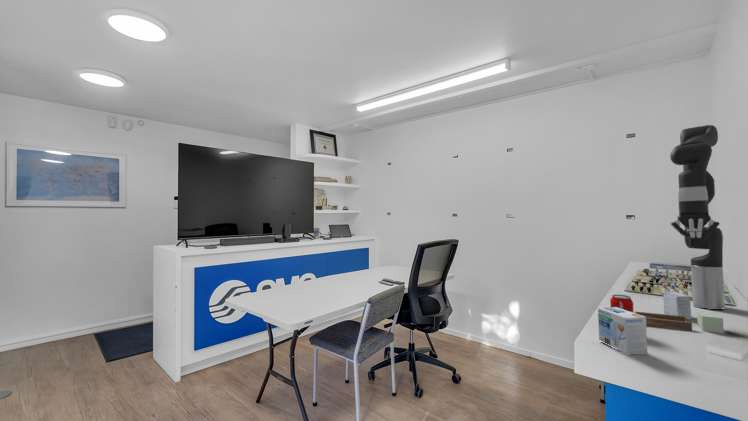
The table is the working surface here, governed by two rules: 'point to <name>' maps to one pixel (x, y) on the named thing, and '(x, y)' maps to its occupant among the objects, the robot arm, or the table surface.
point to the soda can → (622, 302)
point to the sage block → (710, 322)
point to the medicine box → (677, 304)
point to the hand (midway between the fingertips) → (695, 248)
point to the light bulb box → (623, 330)
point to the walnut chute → (666, 321)
